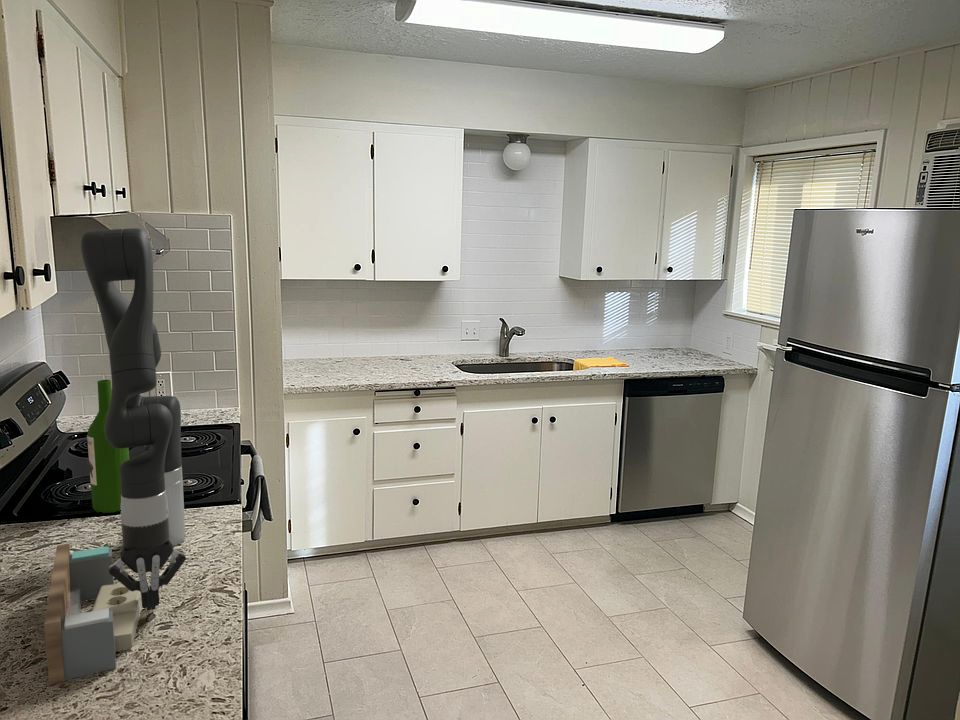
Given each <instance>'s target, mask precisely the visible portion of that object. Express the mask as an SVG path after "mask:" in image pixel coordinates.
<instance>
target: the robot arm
mask: <svg viewBox="0 0 960 720" xmlns="http://www.w3.org/2000/svg"><path fill="white" fill-rule="evenodd" d="M80 241H81V242H80V247H81V248H80V249H81V257H82V260H83V261H82V262H83V264H84V268H85V270H86V273H87V277H88V279H89V282H90V285H91V288H92V291H93V293H94V296H95V299H96V302H97V305H98V309H99V312H100V315H101V316H100V317H101V320H102V324H103V325H102V326H103V329H104V336H105V339H106V344H107V347H108V351H109V365H110V375H111V389H112V394H111V401H110V406H109V410H108V414H107V418H106V423H105V437H106V439H107V441H108V442H109V444H110V445H111V446H113V447H115V448H129V449H130V448H137V447H138V448H139V447H145V446H146V447H147V446H149V448H148V449H147V451H145V452H143V453H140V454H139V455H138V456H136V457H132V458H129V460H127V461H125V462H123V463H122V464H121V466H120V485H121V511H120V522H121V523H120V524H121V535H122V536H121V537H122V539H121V540H122V550H121V552H120V555H119V556H120V557H119V558H118V559H117V560H116V561H114V562H113V563H111V564H110V565H109V573H110V574H111V575H112V576H113V577H114V579H115V580H117V581H118V582H119V584H120V583H122V584H123V585H124V586H125V587H126V588H128V589H129V590H130V591H135V590H137V591H140V592H141V600H142V609H146V612H148V611H154V610H156V606H157V607H158V606H159V605H160V588H161V587H163V586H167V585H168V584H169V583H170V582H171V581H172V579H173V578H174V577H175V575H176V573H177V572H178V571H179V570H180V569H181V566H182V565H184V563H185V561H186V559H187V558H186V553H185V552H184V551H183V550H178V549H175V548H174V547H175V546H178V545H179V544H181V543H183V542H184V541H185V540H186V525H185V523H186V521H185V504H184V503H185V502H184V484H183V483H184V482H183V479H184V478H183V466H182V465H183V464H182V463H183V461H182V444H181V443H182V441H181V435H182V434H181V433H182V432H181V431H182V429H181V428H182V412H181V411H182V410H181V403H180V401H179V400H178V398H177V397H176V396H173V395H161V396H159V395H158V396H154V395H153V396H143V395H141V394H144V393H147V392H150V391H153V390H154V389H155V388H156V386H157V382H158V381H157V380H158V379H157V372H156V368H157V366H158V365H159V364H160V363H159V362H160V360H161V357H162V347H161V344H160V338H159V334H158V329H157V326H156V325H155V323H154V322H153V321H154V320H153V318H154V257H153V249H152V246H151V241H150V239H149V236H148V234H147V233H146V231H145V230H143V229H142V228H138V227H137V228H131V227H130V228H115V229H114V228H113V229H95V230H94V229H93V230H90V231H86V232H85V233H84V234H83V235H82V237H81V240H80ZM120 281H134V288H133V293H132V298H131V299H130V300H131V301H130V300H129V299H128V298H126V297H125V296H124V294H123V293H121V291H120V290H119V288H118V287H117V285H116V284H115V282H120ZM169 558H170V563H169V564H168V566H167V567H166V568H165V570H164V571H163V572H162V573H161V575H160V570H161V569H163V567H164V566H165V564H166V562H167V561H168V560H169ZM125 565H126V566H127V567H128V568H129V569H130V570H131V571H132V572H133V573H136V574H137V575H138V580H137V579H135V578H134V577H132V576H131V575H130V574H129V573H128V572H127V571H125V568H126V567H125ZM147 573H150V575H149V577H150V579H149V580H150V581H149V583H150V586H149V583H148V577H147Z"/></svg>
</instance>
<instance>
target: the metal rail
mask: <svg viewBox="0 0 960 720" xmlns="http://www.w3.org/2000/svg"><path fill="white" fill-rule="evenodd" d="M80 612H82V602H81V591H80V584H79V585H73V586H71V588H70V598H69V607H68V616H71V615H76V614H80Z"/></svg>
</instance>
